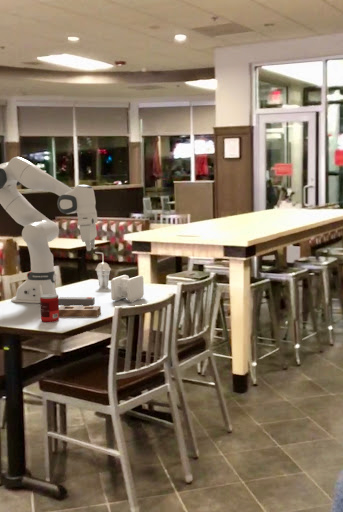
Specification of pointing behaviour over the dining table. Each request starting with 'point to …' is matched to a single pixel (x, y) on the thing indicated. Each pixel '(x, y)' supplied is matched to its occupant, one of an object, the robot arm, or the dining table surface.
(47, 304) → the canned food
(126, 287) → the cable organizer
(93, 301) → the gray bar with feet
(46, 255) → the robot arm
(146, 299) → the dining table surface
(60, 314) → the wooden tray
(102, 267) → the cup with straw
